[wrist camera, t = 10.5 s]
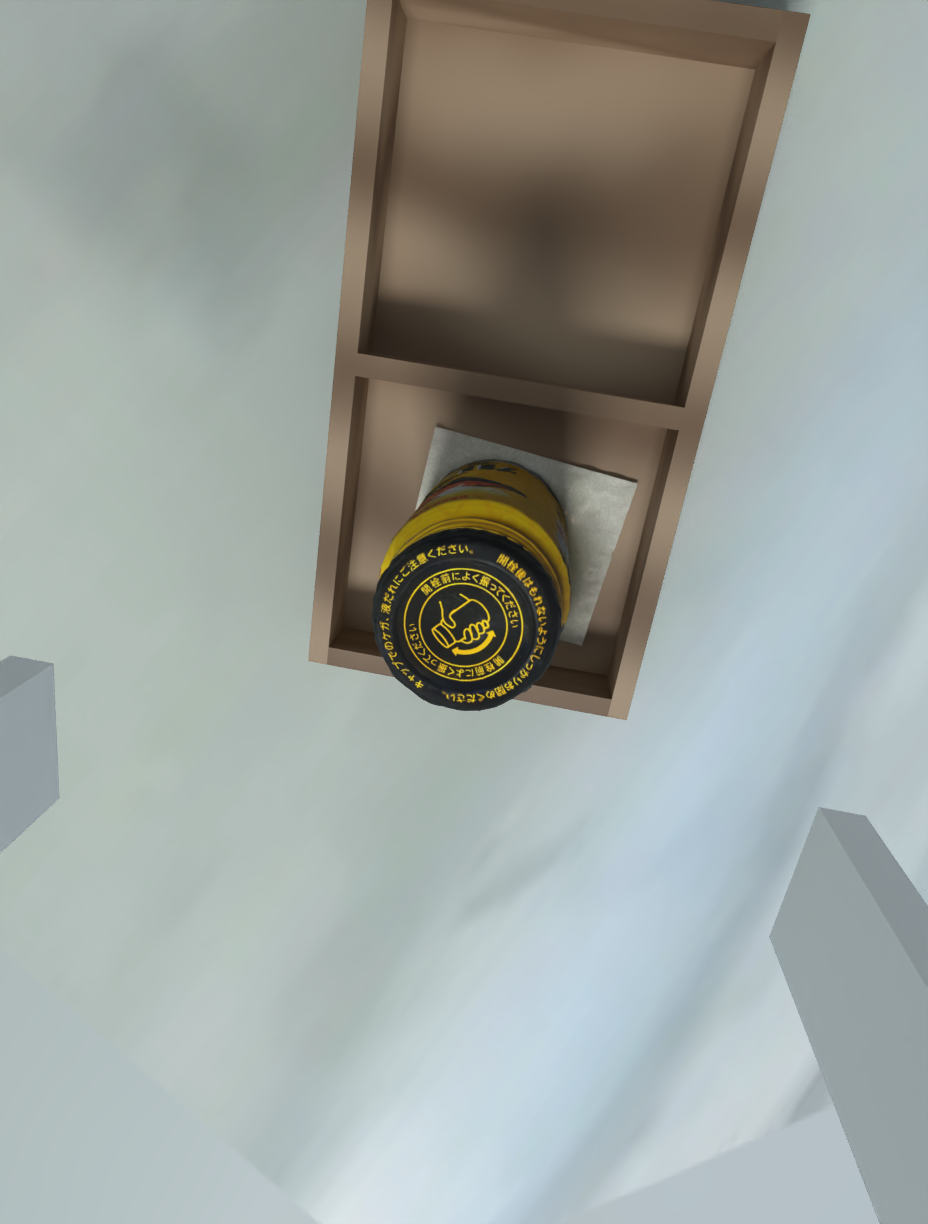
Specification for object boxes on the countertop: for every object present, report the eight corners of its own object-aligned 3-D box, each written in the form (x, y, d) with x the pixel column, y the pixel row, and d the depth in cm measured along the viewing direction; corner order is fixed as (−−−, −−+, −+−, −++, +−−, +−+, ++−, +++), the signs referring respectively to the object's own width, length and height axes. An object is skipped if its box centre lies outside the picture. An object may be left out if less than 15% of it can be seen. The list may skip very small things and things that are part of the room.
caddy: (390, -5, 26) (371, -49, 23) (780, 51, 25) (810, 14, 22) (327, 635, 34) (308, 661, 31) (619, 689, 34) (626, 720, 31)
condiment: (435, 425, 30) (370, 471, 19) (637, 482, 30) (693, 562, 19) (395, 590, 33) (317, 717, 21) (581, 643, 32) (601, 798, 21)
